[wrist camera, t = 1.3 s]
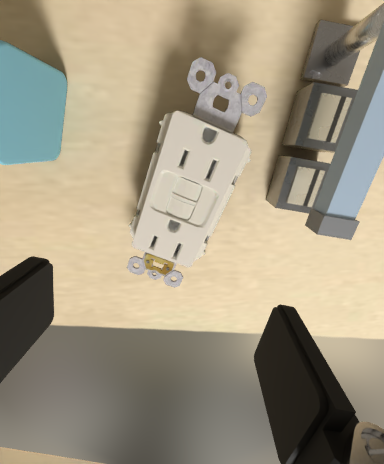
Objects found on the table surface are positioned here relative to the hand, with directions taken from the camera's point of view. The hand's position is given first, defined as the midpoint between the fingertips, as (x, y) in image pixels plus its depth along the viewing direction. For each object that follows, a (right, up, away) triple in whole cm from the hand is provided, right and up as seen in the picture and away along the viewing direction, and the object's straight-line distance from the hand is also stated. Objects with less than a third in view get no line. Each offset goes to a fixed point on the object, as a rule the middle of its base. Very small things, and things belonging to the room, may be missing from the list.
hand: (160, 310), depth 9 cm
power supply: (+18, +19, +23) cm, 35 cm away
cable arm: (+18, +14, +12) cm, 26 cm away
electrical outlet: (+1, +11, +27) cm, 29 cm away
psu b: (+17, +11, +26) cm, 33 cm away
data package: (-20, +21, +24) cm, 37 cm away
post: (+20, +26, +20) cm, 39 cm away
